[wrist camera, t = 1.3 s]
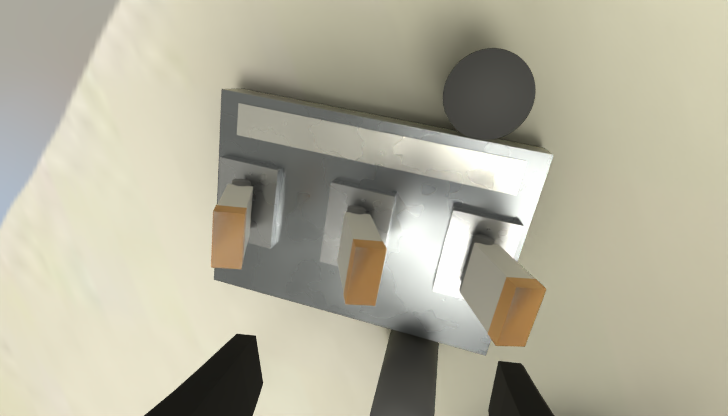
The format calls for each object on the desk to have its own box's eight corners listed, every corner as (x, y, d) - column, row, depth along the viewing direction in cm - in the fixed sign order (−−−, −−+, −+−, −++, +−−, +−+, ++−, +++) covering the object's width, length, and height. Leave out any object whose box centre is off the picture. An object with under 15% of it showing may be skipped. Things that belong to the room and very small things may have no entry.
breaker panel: (543, 147, 19) (557, 157, 17) (483, 333, 23) (486, 363, 20) (242, 88, 21) (215, 89, 19) (231, 264, 25) (208, 284, 23)
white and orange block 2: (492, 235, 18) (547, 286, 14) (476, 287, 19) (523, 348, 15) (467, 233, 18) (517, 284, 14) (452, 285, 19) (495, 347, 15)
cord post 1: (443, 329, 23) (440, 407, 18) (432, 369, 24) (425, 455, 19) (394, 315, 24) (376, 388, 18) (385, 355, 25) (365, 435, 19)
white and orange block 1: (368, 206, 19) (386, 247, 15) (358, 257, 20) (374, 307, 16) (343, 204, 19) (355, 244, 15) (335, 255, 20) (344, 306, 16)
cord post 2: (519, 64, 18) (547, 56, 13) (500, 128, 19) (519, 147, 14) (454, 53, 19) (454, 41, 13) (440, 117, 20) (434, 130, 14)
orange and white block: (255, 180, 20) (245, 211, 16) (251, 229, 21) (241, 271, 17) (229, 177, 20) (213, 208, 16) (227, 227, 21) (211, 269, 17)
